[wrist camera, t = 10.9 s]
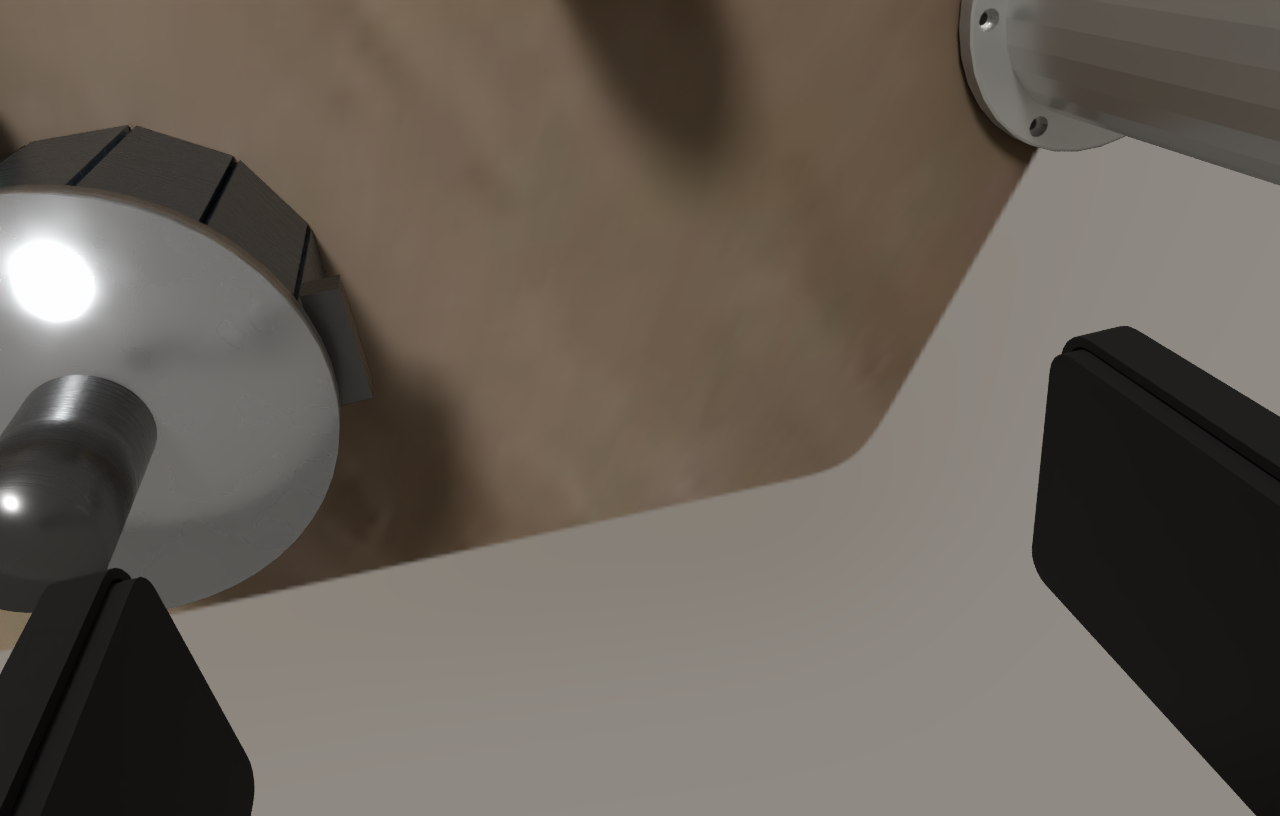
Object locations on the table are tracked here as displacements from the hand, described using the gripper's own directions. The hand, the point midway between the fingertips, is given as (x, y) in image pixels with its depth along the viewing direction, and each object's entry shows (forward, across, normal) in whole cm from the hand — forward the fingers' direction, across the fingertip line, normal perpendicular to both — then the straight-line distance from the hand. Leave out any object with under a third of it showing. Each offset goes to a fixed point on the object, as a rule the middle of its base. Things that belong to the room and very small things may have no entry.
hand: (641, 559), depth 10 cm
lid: (+20, +14, +6) cm, 25 cm away
